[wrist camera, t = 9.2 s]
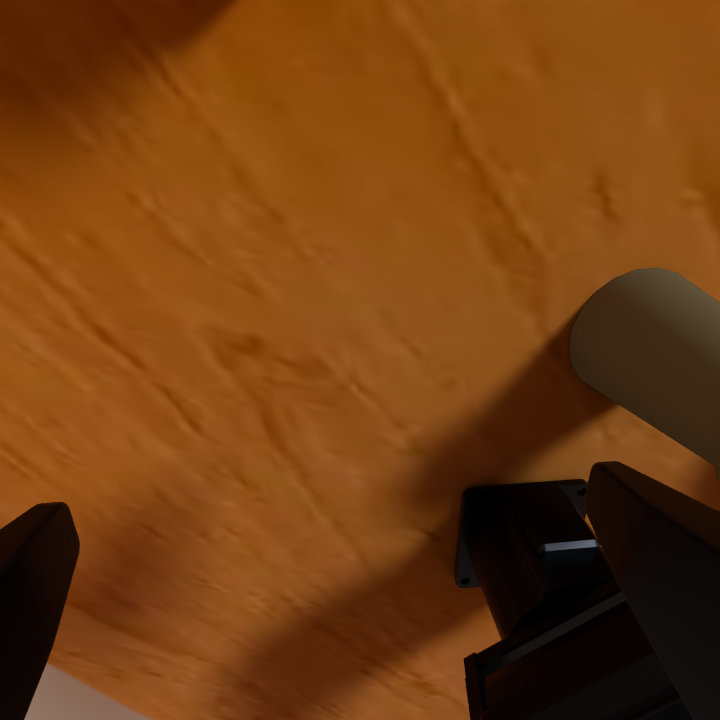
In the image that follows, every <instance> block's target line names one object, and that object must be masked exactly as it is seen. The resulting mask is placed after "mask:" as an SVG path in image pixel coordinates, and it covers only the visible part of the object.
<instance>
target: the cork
mask: <svg viewBox="0 0 720 720" xmlns="http://www.w3.org/2000/svg"><path fill="white" fill-rule="evenodd" d="M569 353H570V357H571V362H572V366H573V368H574V370H575V371H576V373H577V374H578V376H579V377H580V378H581V380H582V381H583V382H585V383H586V384H588V385H589V386H591V387H592V388H594V389H596V390H597V391H599V392H600V393H602V394H603V395H605V396H606V397H608V398H610V399H611V400H613V401H614V402H616V403H617V404H619V405H620V406H622V407H624V408H625V409H627V410H628V411H630V412H631V413H633V414H634V415H636V416H638V417H639V418H641V419H642V420H644V421H645V422H647V423H649V424H650V425H652V426H653V427H655V428H656V429H658V430H659V431H661V432H663V433H664V434H666V435H667V436H669V437H670V438H672V439H673V440H675V441H677V442H678V443H680V444H681V445H683V446H684V447H686V448H687V449H689V450H691V451H692V452H694V453H695V454H697V455H698V456H700V457H701V458H703V459H705V460H706V461H708V462H709V463H711V464H712V465H714V466H715V467H716V472H717V478H718V480H719V482H720V302H718V301H717V300H715V299H714V298H712V297H711V296H710V295H708V294H707V293H705V292H704V291H702V290H701V289H700V288H698V287H697V286H695V285H694V284H692V283H691V282H690V281H688V280H687V279H685V278H684V277H682V276H681V275H679V274H678V273H676V272H672V271H669V270H665V269H661V268H649V269H637V270H634V271H632V272H629V273H627V274H624V275H622V276H619V277H616V278H614V279H613V280H612V281H610V282H609V283H608V284H606V285H605V286H604V287H602V288H601V289H599V290H598V291H597V292H595V294H594V295H593V296H592V297H591V299H590V300H589V301H588V302H587V303H586V305H585V306H584V307H583V308H582V309H581V311H580V313H579V315H578V317H577V319H576V322H575V324H574V326H573V328H572V331H571V338H570V345H569Z"/></svg>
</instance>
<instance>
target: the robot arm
mask: <svg viewBox="0 0 720 720" xmlns="http://www.w3.org/2000/svg"><path fill="white" fill-rule="evenodd" d="M581 488H582V489H581ZM579 489H581V490H579ZM578 490H579V491H578ZM472 497H476V498H474V499H471V498H472ZM586 513H587V516H588V518H589V520H590V522H591V525H592V527H593V529H594V532H595V534H596V535H595V534H594V532H593V531H592V529H591V528H590V527H589V525H588V524H587V522H586V521H585V516H586ZM596 536H597V537H596ZM600 545H601V547H602V548H601V547H600ZM79 549H80V543H79V537H78V534H77V531H76V528H75V525H74V521H73V518H72V515H71V512H70V509H69V507H68V505H67V504H66V503H63V502H52V503H41V504H37V505H35V506H34V507H32V508H31V509H29V510H28V511H26V512H25V513H23V514H22V515H20V516H19V517H17V518H16V519H15V520H13V521H12V522H10V523H9V524H7V525H6V526H4V527H3V528H2V529H0V720H24V719H25V716H26V714H27V711H28V709H29V706H30V703H31V701H32V698H33V696H34V693H35V691H36V688H37V686H38V683H39V681H40V678H41V675H42V673H43V671H44V668H45V666H46V663H47V660H48V658H49V655H50V652H51V650H52V647H53V644H54V641H55V637H56V634H57V631H58V627H59V624H60V620H61V617H62V613H63V609H64V606H65V602H66V598H67V595H68V591H69V588H70V584H71V580H72V577H73V573H74V570H75V566H76V562H77V559H78V555H79ZM454 578H455V581H456V584H457V586H458V587H460V588H470V587H481V588H482V591H483V593H484V596H485V598H486V601H487V604H488V606H489V609H490V611H491V614H492V617H493V619H494V622H495V624H496V627H497V630H498V632H499V635H500V637H501V641H499V642H497V643H496V644H494V645H492V646H490V647H488V648H487V649H485V650H483V651H481V652H479V653H478V654H476V653H473V654H471V655H469V656H467V657H465V658H464V666H465V674H466V678H465V681H466V689H467V697H468V704H469V712H470V719H471V720H720V512H719V511H717V510H715V509H713V508H711V507H709V506H707V505H705V504H703V503H701V502H699V501H697V500H695V499H693V498H691V497H689V496H687V495H685V494H683V493H681V492H679V491H677V490H675V489H673V488H671V487H669V486H667V485H664V484H662V483H660V482H658V481H656V480H654V479H652V478H650V477H648V476H646V475H644V474H642V473H640V472H638V471H636V470H634V469H632V468H630V467H628V466H626V465H624V464H622V463H620V462H617V461H610V462H598V463H595V464H594V465H593V466H592V468H591V471H590V476H589V480H588V483H587V482H586V481H585V480H583V479H575V480H562V481H549V482H536V483H523V484H509V485H496V486H483V487H472V488H469V489H467V490H465V492H464V493H463V495H462V504H461V514H460V524H459V534H458V543H457V553H456V563H455V573H454Z"/></svg>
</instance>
